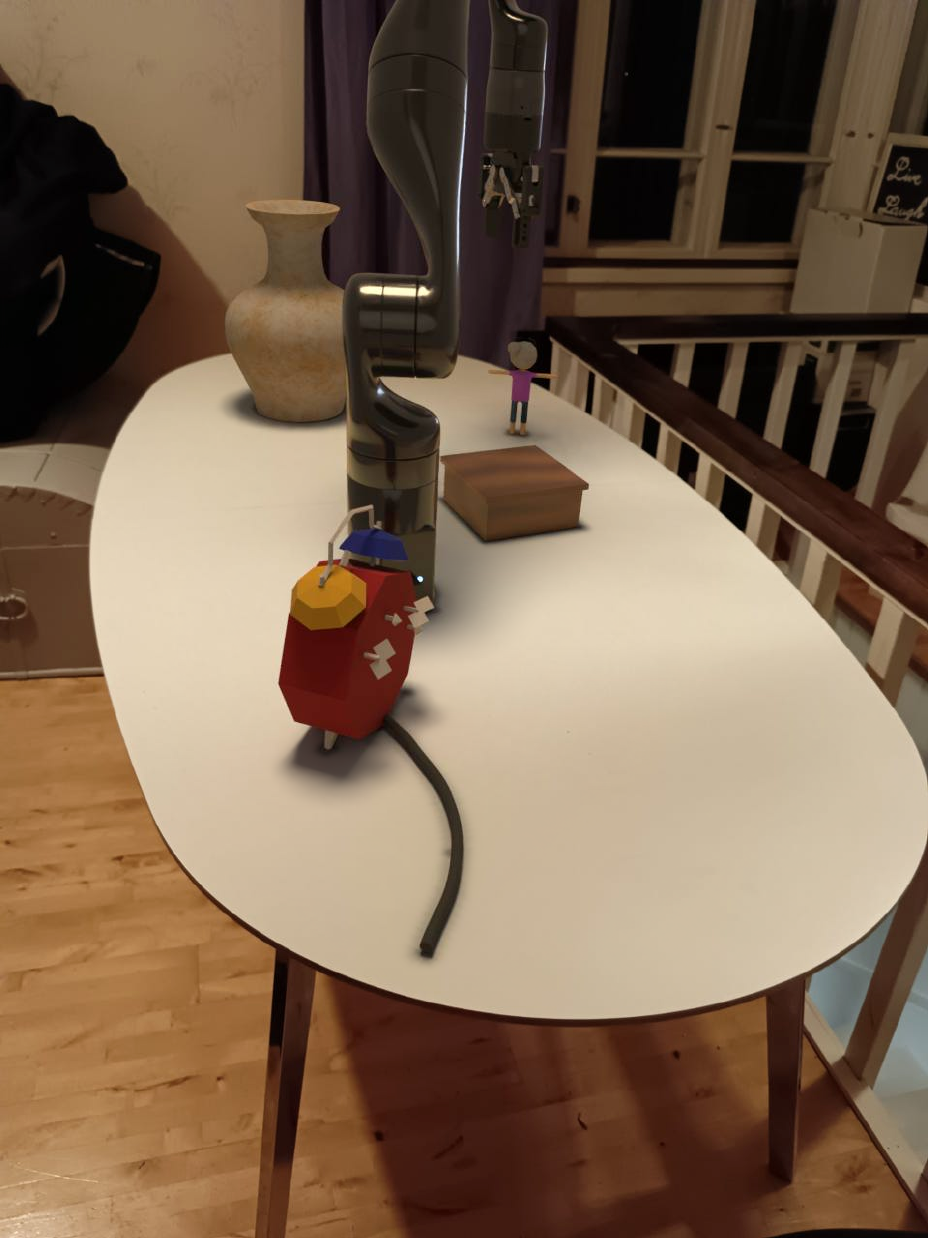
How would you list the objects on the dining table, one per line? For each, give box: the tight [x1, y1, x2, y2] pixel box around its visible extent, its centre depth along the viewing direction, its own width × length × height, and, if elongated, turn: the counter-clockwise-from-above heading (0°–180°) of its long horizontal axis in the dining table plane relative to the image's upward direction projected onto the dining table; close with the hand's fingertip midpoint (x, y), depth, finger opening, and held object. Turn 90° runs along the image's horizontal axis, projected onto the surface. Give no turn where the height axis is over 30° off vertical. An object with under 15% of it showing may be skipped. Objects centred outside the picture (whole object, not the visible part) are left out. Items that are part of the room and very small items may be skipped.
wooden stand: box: [439, 444, 590, 542], centre depth 122 cm, size 14×14×6 cm
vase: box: [224, 199, 346, 423], centre depth 146 cm, size 22×22×30 cm
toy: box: [487, 336, 558, 436], centre depth 144 cm, size 10×6×15 cm, turn 84°
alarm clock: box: [277, 505, 435, 750], centre depth 79 cm, size 15×9×20 cm, turn 160°
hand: (505, 241), depth 132 cm, fingers open, 8 cm apart
